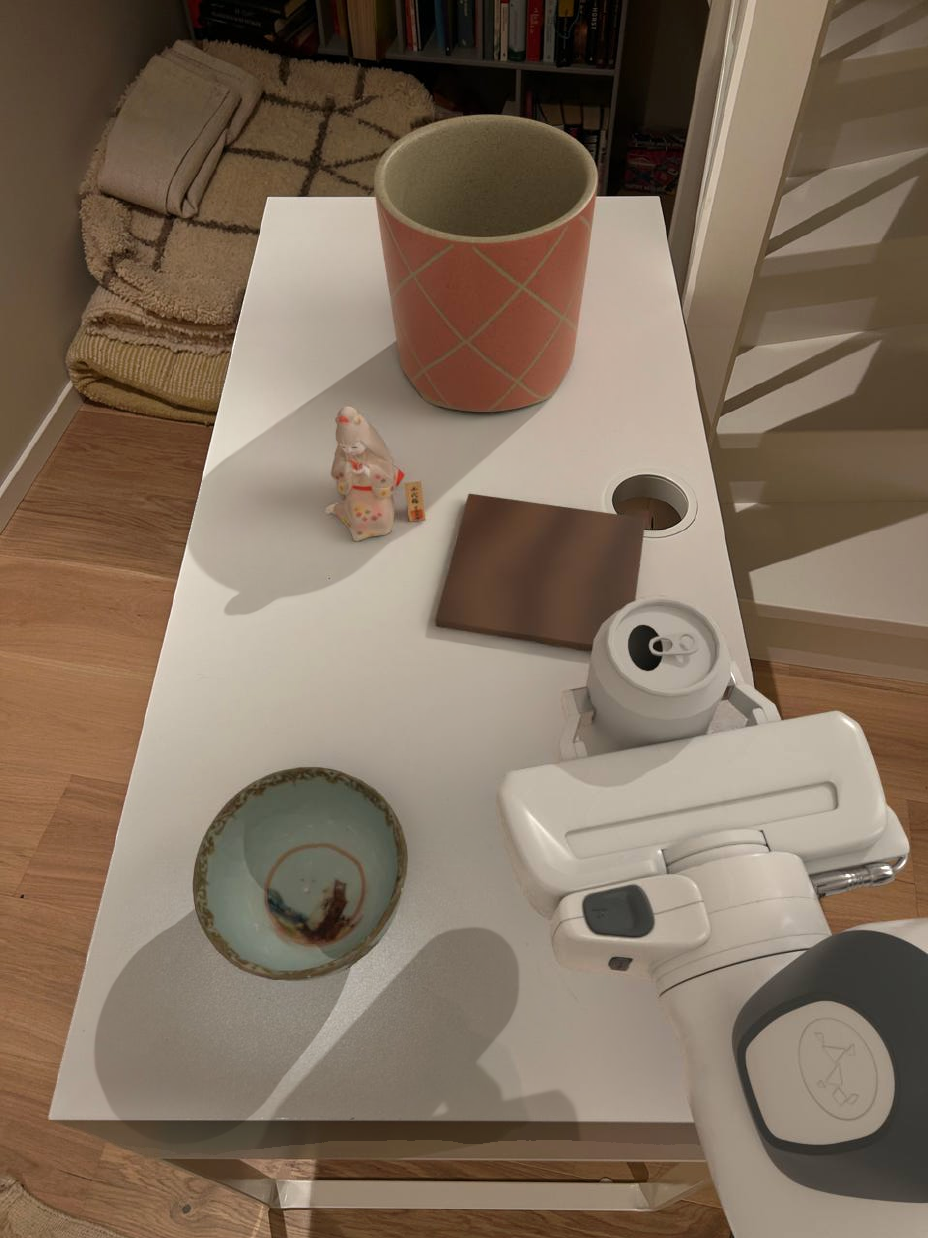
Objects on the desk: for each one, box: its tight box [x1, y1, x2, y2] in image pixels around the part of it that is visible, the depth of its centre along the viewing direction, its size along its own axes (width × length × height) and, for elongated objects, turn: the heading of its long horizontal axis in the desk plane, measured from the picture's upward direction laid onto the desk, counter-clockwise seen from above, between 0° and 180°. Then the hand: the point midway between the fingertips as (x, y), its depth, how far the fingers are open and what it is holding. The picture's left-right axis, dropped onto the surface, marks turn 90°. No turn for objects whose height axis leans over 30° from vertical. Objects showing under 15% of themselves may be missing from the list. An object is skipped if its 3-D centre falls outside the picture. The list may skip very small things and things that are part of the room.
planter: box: [373, 114, 599, 413], centre depth 86 cm, size 19×19×20 cm
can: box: [577, 594, 732, 757], centre depth 53 cm, size 8×8×12 cm
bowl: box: [192, 766, 409, 982], centre depth 61 cm, size 14×13×8 cm
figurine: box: [325, 406, 426, 542], centre depth 79 cm, size 9×7×12 cm
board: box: [434, 493, 646, 652], centre depth 79 cm, size 16×14×1 cm
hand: (645, 679), depth 53 cm, fingers closed on can, 7 cm apart
